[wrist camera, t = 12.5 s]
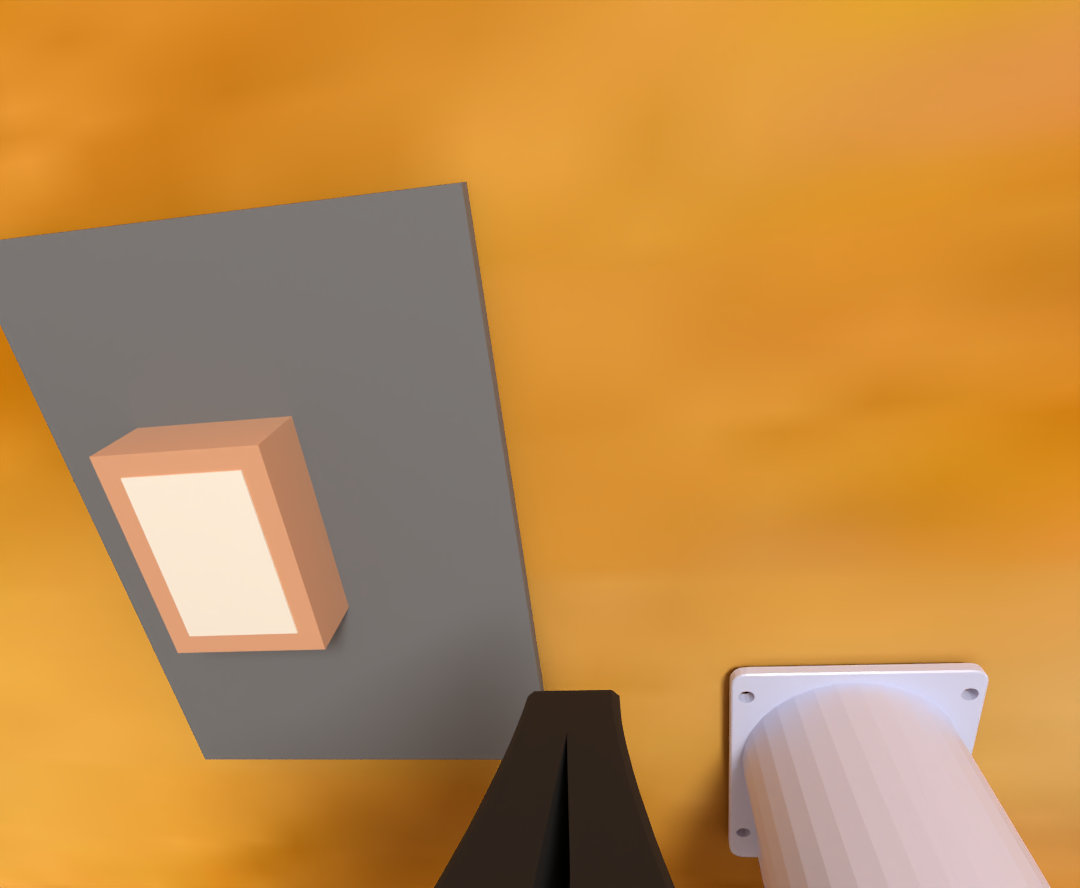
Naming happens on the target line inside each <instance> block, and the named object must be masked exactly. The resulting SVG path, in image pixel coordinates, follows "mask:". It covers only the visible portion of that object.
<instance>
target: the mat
mask: <svg viewBox="0 0 1080 888" xmlns="http://www.w3.org/2000/svg"><path fill="white" fill-rule="evenodd" d="M0 325H1V327H2V329H3V331H4V333H5V336H6V338H7V340H8V342H9V344H10V346H11V348H12V350H13V352H14V355H15V357H16V359H17V361H18V363H19V365H20V367H21V369H22V372H23V374H24V376H25V378H26V380H27V382H28V384H29V386H30V389H31V391H32V393H33V395H34V397H35V399H36V401H37V403H38V405H39V408H40V410H41V412H42V414H43V416H44V418H45V420H46V422H47V425H48V427H49V429H50V431H51V433H52V435H53V437H54V439H55V442H56V444H57V446H58V448H59V450H60V452H61V454H62V456H63V458H64V461H65V463H66V465H67V467H68V469H69V471H70V473H71V475H72V478H73V480H74V482H75V484H76V486H77V488H78V490H79V492H80V494H81V497H82V499H83V501H84V503H85V505H86V507H87V509H88V511H89V514H90V516H91V518H92V520H93V522H94V524H95V526H96V528H97V531H98V533H99V535H100V537H101V539H102V541H103V543H104V545H105V547H106V550H107V552H108V554H109V556H110V558H111V560H112V562H113V564H114V567H115V569H116V571H117V573H118V575H119V577H120V579H121V581H122V584H123V586H124V588H125V590H126V592H127V594H128V596H129V598H130V600H131V603H132V605H133V607H134V609H135V611H136V613H137V615H138V617H139V620H140V622H141V624H142V626H143V628H144V630H145V632H146V634H147V637H148V639H149V641H150V643H151V645H152V647H153V649H154V651H155V653H156V656H157V658H158V660H159V662H160V664H161V666H162V668H163V670H164V673H165V675H166V677H167V679H168V681H169V683H170V685H171V687H172V690H173V692H174V694H175V696H176V698H177V700H178V702H179V704H180V706H181V709H182V711H183V713H184V715H185V717H186V719H187V721H188V723H189V726H190V728H191V730H192V732H193V734H194V736H195V738H196V740H197V742H198V745H199V747H200V749H201V751H202V753H203V755H204V757H205V759H503V757H504V755H505V753H506V751H507V748H508V746H509V744H510V741H511V739H512V737H513V734H514V732H515V730H516V727H517V725H518V722H519V720H520V717H521V714H522V712H523V709H524V706H525V703H526V700H527V697H528V696H529V695H530V694H531V693H533V692H534V691H544V688H543V682H542V675H541V669H540V662H539V656H538V649H537V642H536V636H535V629H534V623H533V616H532V610H531V603H530V596H529V590H528V583H527V577H526V570H525V564H524V557H523V550H522V544H521V537H520V531H519V524H518V518H517V511H516V504H515V498H514V491H513V485H512V478H511V472H510V465H509V458H508V452H507V445H506V439H505V432H504V426H503V419H502V412H501V406H500V399H499V393H498V386H497V380H496V373H495V366H494V360H493V353H492V347H491V340H490V334H489V327H488V321H487V314H486V307H485V301H484V294H483V288H482V281H481V275H480V268H479V261H478V255H477V248H476V242H475V235H474V229H473V222H472V215H471V209H470V202H469V196H468V189H467V183H466V182H461V183H453V184H445V185H437V186H429V187H421V188H413V189H405V190H397V191H389V192H381V193H373V194H365V195H357V196H349V197H341V198H333V199H325V200H317V201H309V202H301V203H293V204H285V205H276V206H268V207H260V208H252V209H244V210H236V211H228V212H220V213H212V214H204V215H196V216H188V217H180V218H172V219H164V220H156V221H148V222H140V223H132V224H124V225H116V226H108V227H100V228H92V229H84V230H76V231H68V232H59V233H51V234H43V235H35V236H27V237H19V238H11V239H3V240H0ZM287 416H292V419H293V422H294V425H295V429H296V432H297V436H298V439H299V442H300V446H301V449H302V452H303V456H304V459H305V462H306V466H307V469H308V472H309V476H310V479H311V482H312V486H313V489H314V492H315V496H316V499H317V502H318V506H319V509H320V512H321V516H322V519H323V522H324V526H325V529H326V532H327V536H328V539H329V543H330V546H331V549H332V553H333V556H334V559H335V563H336V566H337V569H338V573H339V576H340V579H341V583H342V586H343V589H344V593H345V596H346V599H347V603H348V606H349V608H348V610H347V612H346V613H345V615H344V617H343V619H342V620H341V622H340V624H339V626H338V628H337V629H336V631H335V633H334V635H333V637H332V638H331V640H330V642H329V644H328V645H327V647H326V649H321V650H280V651H239V652H198V653H178V652H177V650H176V648H175V645H174V643H173V641H172V639H171V637H170V634H169V632H168V630H167V628H166V626H165V623H164V621H163V619H162V617H161V615H160V612H159V610H158V608H157V606H156V603H155V601H154V599H153V597H152V595H151V592H150V590H149V588H148V586H147V584H146V581H145V579H144V577H143V575H142V573H141V570H140V568H139V566H138V564H137V562H136V559H135V557H134V555H133V553H132V551H131V548H130V546H129V544H128V542H127V540H126V537H125V535H124V533H123V531H122V528H121V526H120V524H119V522H118V520H117V517H116V515H115V513H114V511H113V509H112V506H111V504H110V502H109V500H108V498H107V495H106V493H105V491H104V489H103V487H102V484H101V482H100V480H99V478H98V476H97V473H96V471H95V469H94V467H93V464H92V462H91V460H90V458H89V457H90V456H92V455H93V454H95V453H97V452H98V451H100V450H102V449H103V448H105V447H107V446H108V445H110V444H112V443H113V442H115V441H117V440H118V439H120V438H122V437H123V436H125V435H127V434H128V433H130V432H132V431H133V430H135V429H137V428H144V427H157V426H170V425H183V424H196V423H209V422H222V421H235V420H248V419H261V418H274V417H287Z"/></svg>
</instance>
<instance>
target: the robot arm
mask: <svg viewBox="0 0 1080 888" xmlns="http://www.w3.org/2000/svg"><path fill="white" fill-rule="evenodd" d="M987 686H988V676H987V674H986V673H985V672H984V670H983V669H982V668H981V666H979V665H977V664H974V663H939V664H885V665H831V666H777V667H742V668H738V669H736V670H734V671H733V672H732V673H731V675H730V691H729V820H728V841H729V847H730V851H731V852H732V853H733V854H734V855H737V856H740V857H758V860H759V865H760V870H761V874H762V879H763V884H764V888H1051V887H1050V886H1049V884H1048V882H1047V881H1046V879H1045V877H1044V876H1043V874H1042V872H1041V870H1040V869H1039V867H1038V865H1037V864H1036V862H1035V860H1034V859H1033V857H1032V855H1031V854H1030V852H1029V850H1028V849H1027V847H1026V845H1025V844H1024V842H1023V840H1022V839H1021V837H1020V835H1019V834H1018V832H1017V830H1016V829H1015V827H1014V825H1013V824H1012V822H1011V820H1010V819H1009V817H1008V815H1007V814H1006V812H1005V810H1004V809H1003V807H1002V805H1001V804H1000V802H999V800H998V799H997V797H996V795H995V794H994V792H993V790H992V789H991V787H990V785H989V784H988V782H987V780H986V779H985V777H984V775H983V774H982V772H981V770H980V769H979V767H978V765H977V764H976V762H975V760H974V759H973V757H972V751H973V747H974V743H975V738H976V734H977V729H978V725H979V721H980V716H981V712H982V708H983V703H984V699H985V695H986V690H987ZM966 689H968V690H966ZM964 690H966V691H964ZM746 691H748V692H749V693H747V694H741V693H742V692H746ZM434 888H675V887H674V884H673V882H672V880H671V877H670V875H669V872H668V870H667V867H666V865H665V862H664V860H663V857H662V854H661V852H660V849H659V846H658V844H657V841H656V838H655V836H654V833H653V830H652V827H651V824H650V821H649V818H648V815H647V813H646V810H645V807H644V804H643V801H642V798H641V795H640V792H639V789H638V786H637V782H636V779H635V776H634V772H633V769H632V765H631V761H630V757H629V754H628V750H627V746H626V741H625V737H624V732H623V727H622V721H621V710H620V698H619V695H617V694H616V693H615V692H614V691H612V690H582V691H534V692H533V693H531V694H530V695H529V696H528V697H527V700H526V703H525V706H524V709H523V712H522V714H521V717H520V720H519V722H518V725H517V727H516V730H515V732H514V734H513V737H512V739H511V741H510V744H509V746H508V748H507V751H506V753H505V755H504V757H503V759H502V761H501V764H500V766H499V768H498V770H497V772H496V774H495V776H494V778H493V780H492V782H491V784H490V786H489V788H488V790H487V792H486V794H485V796H484V798H483V800H482V802H481V804H480V806H479V808H478V810H477V812H476V814H475V816H474V818H473V820H472V822H471V824H470V826H469V828H468V829H467V831H466V833H465V835H464V836H463V838H462V840H461V842H460V844H459V845H458V847H457V849H456V851H455V852H454V854H453V856H452V858H451V859H450V861H449V863H448V865H447V866H446V868H445V870H444V872H443V873H442V875H441V877H440V879H439V880H438V882H437V884H436V885H435V887H434Z"/></svg>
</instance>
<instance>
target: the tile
mask: <svg viewBox="0 0 1080 888" xmlns="http://www.w3.org/2000/svg"><path fill="white" fill-rule="evenodd" d="M89 458H90V460H91V462H92V464H93V467H94V469H95V471H96V473H97V476H98V478H99V480H100V482H101V484H102V487H103V489H104V491H105V493H106V495H107V498H108V500H109V502H110V504H111V506H112V509H113V511H114V513H115V515H116V517H117V520H118V522H119V524H120V526H121V528H122V531H123V533H124V535H125V537H126V540H127V542H128V544H129V546H130V548H131V551H132V553H133V555H134V557H135V559H136V562H137V564H138V566H139V568H140V570H141V573H142V575H143V577H144V579H145V581H146V584H147V586H148V588H149V590H150V592H151V595H152V597H153V599H154V601H155V603H156V606H157V608H158V610H159V612H160V615H161V617H162V619H163V621H164V623H165V626H166V628H167V630H168V632H169V634H170V637H171V639H172V641H173V643H174V645H175V648H176V650H177V652H178V653H198V652H239V651H280V650H321V649H326V647H327V645H328V644H329V642H330V640H331V638H332V637H333V635H334V633H335V631H336V629H337V628H338V626H339V624H340V622H341V620H342V619H343V617H344V615H345V613H346V612H347V610H348V608H349V606H348V603H347V599H346V596H345V593H344V589H343V586H342V583H341V579H340V576H339V573H338V569H337V566H336V563H335V559H334V556H333V553H332V549H331V546H330V543H329V539H328V536H327V532H326V529H325V526H324V522H323V519H322V516H321V512H320V509H319V506H318V502H317V499H316V496H315V492H314V489H313V486H312V482H311V479H310V476H309V472H308V469H307V466H306V462H305V459H304V456H303V452H302V449H301V446H300V442H299V439H298V436H297V432H296V429H295V425H294V422H293V419H292V416H287V417H274V418H261V419H248V420H235V421H222V422H209V423H196V424H183V425H170V426H157V427H144V428H137V429H135V430H133V431H132V432H130V433H128V434H127V435H125V436H123V437H122V438H120V439H118V440H117V441H115V442H113V443H112V444H110V445H108V446H107V447H105V448H103V449H102V450H100V451H98V452H97V453H95V454H93V455H92V456H90V457H89Z"/></svg>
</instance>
